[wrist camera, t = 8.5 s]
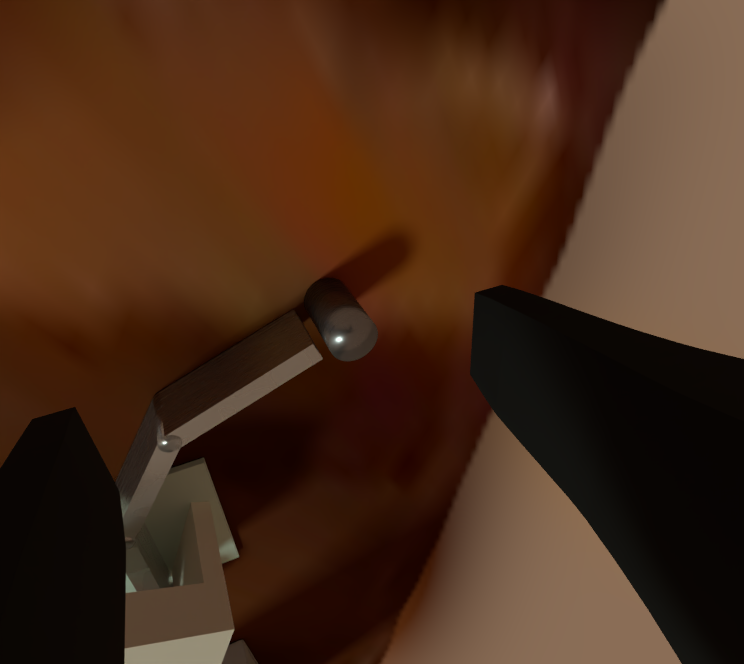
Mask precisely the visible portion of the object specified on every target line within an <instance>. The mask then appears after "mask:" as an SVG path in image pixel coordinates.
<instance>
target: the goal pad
mask: <svg viewBox="0 0 744 664" xmlns="http://www.w3.org/2000/svg"><path fill="white" fill-rule="evenodd" d="M208 501H210V506H211V511H212V516H213V521H214V527H215V532H216V537H217V542H218V547H219V552H220V557H221V562H222V564H223V563H225V562H228V561H230V560H233V559H236V558H238V557H239V554H238V551H237V548H236V545H235V542H234V540H233V537H232V534H231V531H230V529H229V526H228V523H227V520H226V517H225V515H224V512H223V509H222V506H221V504H220V501H219V498H218V495H217V493H216V490H215V487H214V484H213V482H212V479H211V476H210V473H209V471H208V468H207V465H206V462H205V460H204V458H201V459H198V460H195V461H192V462H189V463H186V464H183V465H180V466H177V467H173V468H170V470H169V472H168V474H167V476H166V478H165V480H164V482H163V484H162V486H161V489H160V491H159V493H158V495H157V497H156V499H155V501H154V503H153V505H152V507H151V509H150V511H149V513H148V515H147V517H146V519H145V521H144V522H145V524H146V526H147V528H148V530H149V532H150V534H151V536H152V538H153V540H154V542H155V544H156V546H157V548H158V550H159V552H160V554H161V556H162V557H163V559H164V561H165V563H166V565H167V567H168V569H169V571H170V573H171V575H172V568H173V565H174V561H175V558H176V554H177V551H178V547H179V544H180V540H181V536H182V533H183V529H184V526H185V522H186V519H187V515H188V511H189V508H190V504H191V502H208ZM172 580H173V578H172ZM130 592H137V591H136V589H135V588H134V586H133V584H132V583H131V581H130V579H129V578H128V576H127V574H126V593H130Z"/></svg>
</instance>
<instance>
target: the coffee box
mask: <svg viewBox="0 0 744 664" xmlns="http://www.w3.org/2000/svg"><path fill="white" fill-rule="evenodd" d="M222 664H258V662H257V661H256V659H255V658H254V656H253V654H252V653H251V651H250V650H249V648H248V646H247V645H246V643H245V642H244V640H239V641H237V642H234V643H232V644H230V645H228V648H227V650H226V653H225V656H224V658H223V661H222Z"/></svg>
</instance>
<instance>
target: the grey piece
mask: <svg viewBox="0 0 744 664" xmlns="http://www.w3.org/2000/svg"><path fill="white" fill-rule="evenodd" d="M304 305H305V309H306V311H307V312H308V314H309V316H310V317H311V319H312V321H313V322H314V324H315V326H316V328H317V329H318V331H319V333H320V334H321V336H322V338H323V339H324V341H325V343H326V345H327V346H328V348H329V350H330V351H331V353H332V354H333V356H334V357H336V358H337V359H339V360H343V361H353V360H357V359H359V358H361V357H363V356H365V355H366V354H367V353H368V352H370V350H371V349H372V348H373V347H374V345H375V343H376V341H377V336H378V332H377V328H376V325H375V324H374V323H373V321H372V320H371V319H370V317H369V316H368V315H367V313H366V312H365V311H364V309H363V308H362V307H361V306H360V304H359V303H358V302H357V300H356V299H355V298H354V296H353V295H352V294H351V292H350V291H349V290H348V288H347V287H346V286H345V284H344V283H343V282H341V281H340V280H338V279H335V278H325V279H321V280H319V281H317V282H315V283H314V284H313V285H312V286H311V287H310V288H309V289H308V291H307V292H306V295H305V298H304ZM322 359H323V358H322V356H321V354H320V353H319V351H318V349H317V347H316V345H315V344H314V342H313V340H312V338H311V336H310V335H309V333H308V331H307V329H306V328H305V326H304V324H303V322H302V321H301V319H300V318H299V316H298V315H297V313H296V312H295V310H294V309H293V310H291V311H290V312H288V313H286V314H285V315H283V316H282V317H280V318H278V319H277V320H275V321H273V322H272V323H270V324H269V325H267V326H265V327H264V328H262V329H260V330H259V331H257V332H256V333H254V334H252V335H251V336H249V337H247V338H246V339H244V340H243V341H241V342H239V343H238V344H236V345H235V346H233V347H231V348H230V349H228V350H226V351H225V352H223V353H222V354H220V355H218V356H217V357H215V358H213V359H212V360H210V361H209V362H207V363H205V364H204V365H202V366H200V367H199V368H197V369H196V370H194V371H192V372H191V373H189V374H188V375H186V376H184V377H183V378H181V379H179V380H178V381H176V382H175V383H173V384H171V385H170V386H168V387H166V388H165V389H163V390H162V391H160V392H158V393H157V394H155V395H154V397H153V399H152V402H151V404H150V406H149V408H148V410H147V413H146V415H145V417H144V419H143V422H142V424H141V426H140V428H139V431H138V433H137V435H136V437H135V440H134V442H133V444H132V446H131V449H130V451H129V453H128V455H127V457H126V460H125V462H124V464H123V466H122V469H121V471H120V473H119V475H118V478H117V480H116V482H115V484H116V486H117V488H118V490H119V493H120V500H121V508H122V516H123V524H124V533H125V542H126V574H127V576H128V578H129V579H130V581H131V583H132V584H133V586H134V588H135V589H136V591H145V590H153V589H161V588H169V587H173V580H172V575H171V573H170V571H169V569H168V567H167V565H166V563H165V561H164V559H163V557H162V556H161V554H160V552H159V550H158V548H157V546H156V544H155V542H154V540H153V538H152V536H151V534H150V532H149V530H148V528H147V526H146V524H145V522H144V521H145V519H146V517H147V515H148V513H149V511H150V509H151V507H152V505H153V503H154V501H155V499H156V497H157V495H158V493H159V491H160V489H161V486H162V484H163V482H164V480H165V478H166V476H167V474H168V472H169V470H170V468H171V466H172V464H173V462H174V460H175V458H176V456H177V454H178V452H179V449H180V448H181V447H183V446H184V445H186V444H187V443H189V442H191V441H192V440H194V439H195V438H197V437H199V436H200V435H202V434H203V433H205V432H207V431H208V430H210V429H211V428H213V427H215V426H216V425H218V424H219V423H221V422H223V421H224V420H226V419H227V418H229V417H231V416H232V415H234V414H235V413H237V412H239V411H240V410H242V409H243V408H245V407H247V406H248V405H250V404H251V403H253V402H255V401H256V400H258V399H259V398H261V397H263V396H264V395H266V394H267V393H269V392H270V391H272V390H274V389H275V388H277V387H278V386H280V385H282V384H283V383H285V382H286V381H288V380H290V379H291V378H293V377H294V376H296V375H298V374H299V373H301V372H302V371H304V370H306V369H307V368H309V367H310V366H312V365H314V364H315V363H317V362H318V361H320V360H322Z"/></svg>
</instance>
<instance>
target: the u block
mask: <svg viewBox="0 0 744 664" xmlns="http://www.w3.org/2000/svg"><path fill="white" fill-rule="evenodd" d="M172 578H173V587H169V588H161V589H153V590H145V591H137V592H130V593H126V604H125V659H124V664H222V661H223V658H224V656H225V653H226V650H227V648H228V645H229V643H230V640H231V637H232V635H233V632H234V624H233V619H232V614H231V609H230V604H229V598H228V593H227V588H226V583H225V578H224V573H223V568H222V562H221V557H220V552H219V547H218V542H217V537H216V532H215V527H214V521H213V516H212V511H211V506H210V501H208V502H191V504H190V508H189V511H188V515H187V519H186V522H185V526H184V529H183V533H182V536H181V540H180V544H179V547H178V551H177V554H176V558H175V561H174V565H173V568H172Z"/></svg>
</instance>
